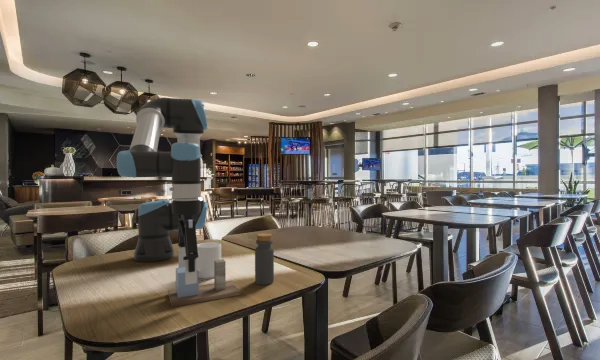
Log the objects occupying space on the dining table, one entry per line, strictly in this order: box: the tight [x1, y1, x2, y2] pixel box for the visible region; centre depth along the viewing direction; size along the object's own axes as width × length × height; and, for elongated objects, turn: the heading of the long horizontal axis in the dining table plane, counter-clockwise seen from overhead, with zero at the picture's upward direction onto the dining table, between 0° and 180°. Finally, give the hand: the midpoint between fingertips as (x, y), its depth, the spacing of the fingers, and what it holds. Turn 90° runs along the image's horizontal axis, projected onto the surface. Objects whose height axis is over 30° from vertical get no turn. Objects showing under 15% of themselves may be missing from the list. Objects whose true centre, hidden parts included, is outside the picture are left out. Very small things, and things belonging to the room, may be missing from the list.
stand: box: [167, 258, 241, 308], centre depth 90 cm, size 10×18×9 cm, turn 118°
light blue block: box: [175, 267, 200, 298], centre depth 88 cm, size 5×5×7 cm
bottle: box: [254, 232, 275, 286], centre depth 101 cm, size 6×6×15 cm
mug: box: [197, 241, 222, 280], centre depth 107 cm, size 12×8×10 cm
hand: (187, 275), depth 89 cm, fingers open, 13 cm apart
